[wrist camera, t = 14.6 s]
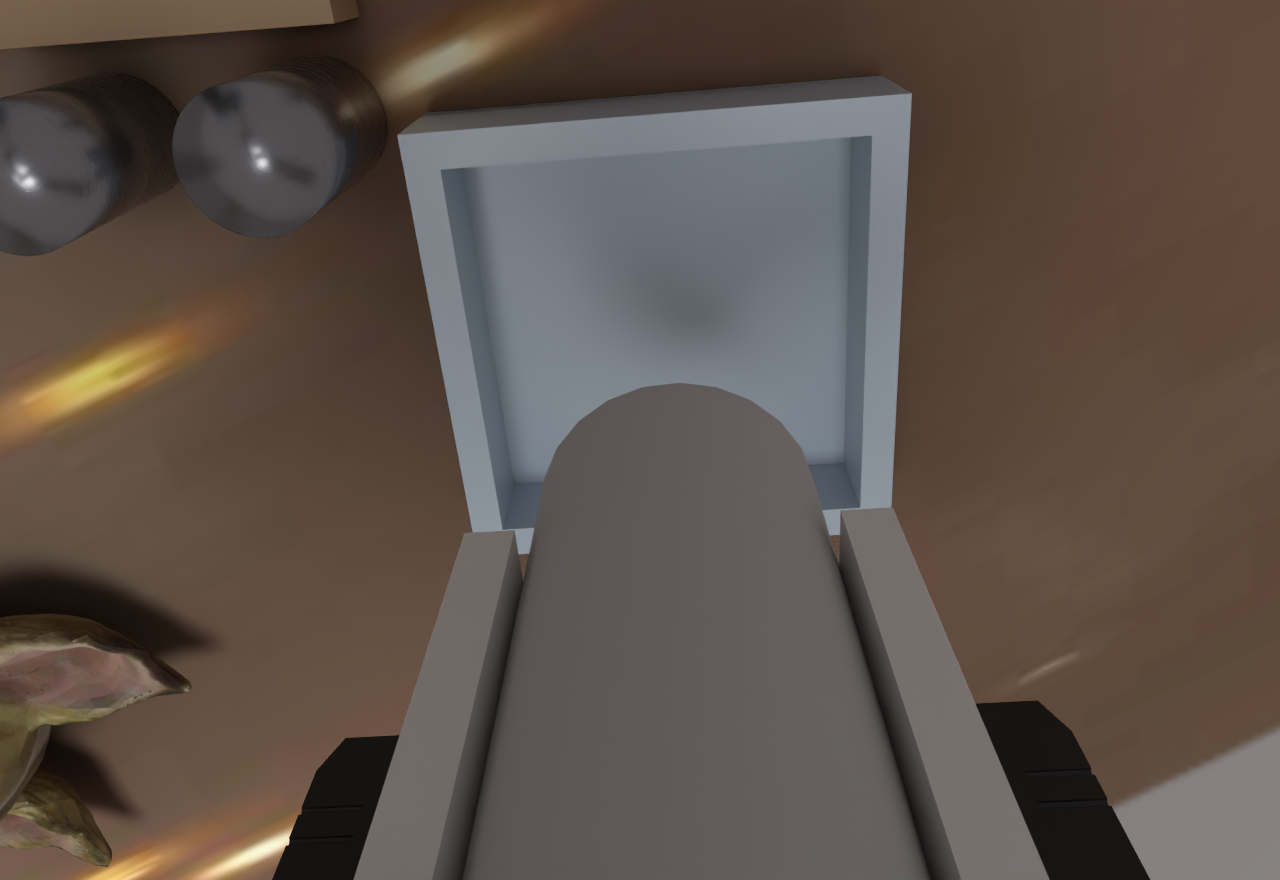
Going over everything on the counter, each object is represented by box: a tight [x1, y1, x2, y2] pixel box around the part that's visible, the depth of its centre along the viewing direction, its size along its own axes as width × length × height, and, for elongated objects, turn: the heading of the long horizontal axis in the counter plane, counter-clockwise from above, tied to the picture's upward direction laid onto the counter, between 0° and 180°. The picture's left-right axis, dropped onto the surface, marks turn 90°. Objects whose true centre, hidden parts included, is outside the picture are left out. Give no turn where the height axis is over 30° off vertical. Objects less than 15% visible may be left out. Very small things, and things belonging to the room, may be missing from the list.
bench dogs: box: [0, 55, 387, 256], centre depth 21 cm, size 3×8×5 cm, turn 94°
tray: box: [397, 75, 912, 554], centre depth 24 cm, size 11×11×3 cm
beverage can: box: [462, 383, 932, 880], centre depth 12 cm, size 5×5×12 cm
